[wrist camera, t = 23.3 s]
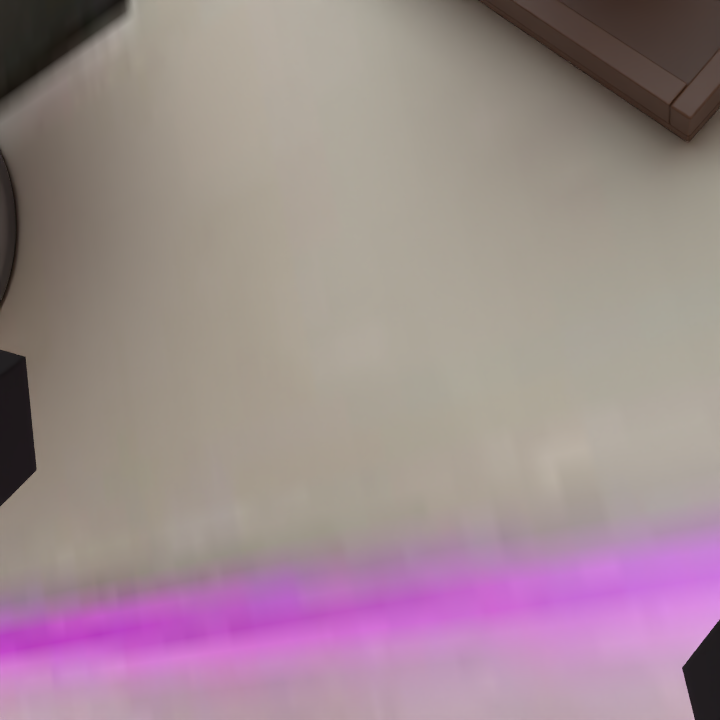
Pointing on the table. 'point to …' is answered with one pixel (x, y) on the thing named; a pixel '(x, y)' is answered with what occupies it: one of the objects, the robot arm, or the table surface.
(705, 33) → the tray
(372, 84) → the table surface
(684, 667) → the robot arm
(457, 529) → the table surface
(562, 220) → the table surface
